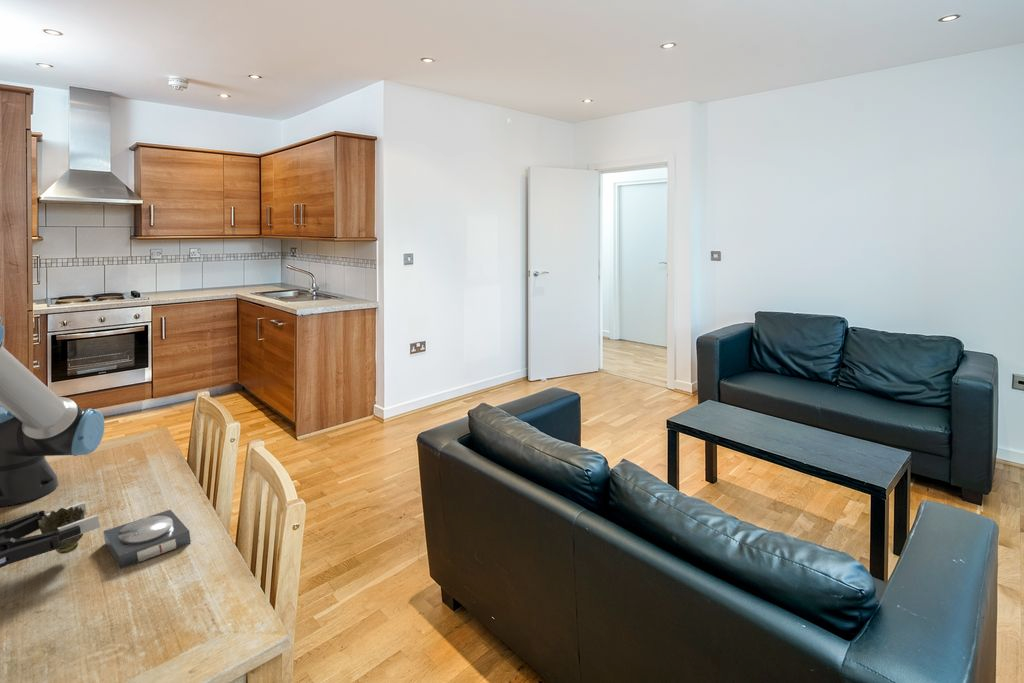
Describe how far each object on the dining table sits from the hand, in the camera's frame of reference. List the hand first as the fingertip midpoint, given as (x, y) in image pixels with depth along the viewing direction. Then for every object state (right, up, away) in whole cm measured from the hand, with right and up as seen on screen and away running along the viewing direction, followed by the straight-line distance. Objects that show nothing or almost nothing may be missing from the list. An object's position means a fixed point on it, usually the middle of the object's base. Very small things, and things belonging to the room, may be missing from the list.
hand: (91, 514), depth 117 cm
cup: (-3, -7, -2) cm, 8 cm away
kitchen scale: (+9, -8, +4) cm, 13 cm away
